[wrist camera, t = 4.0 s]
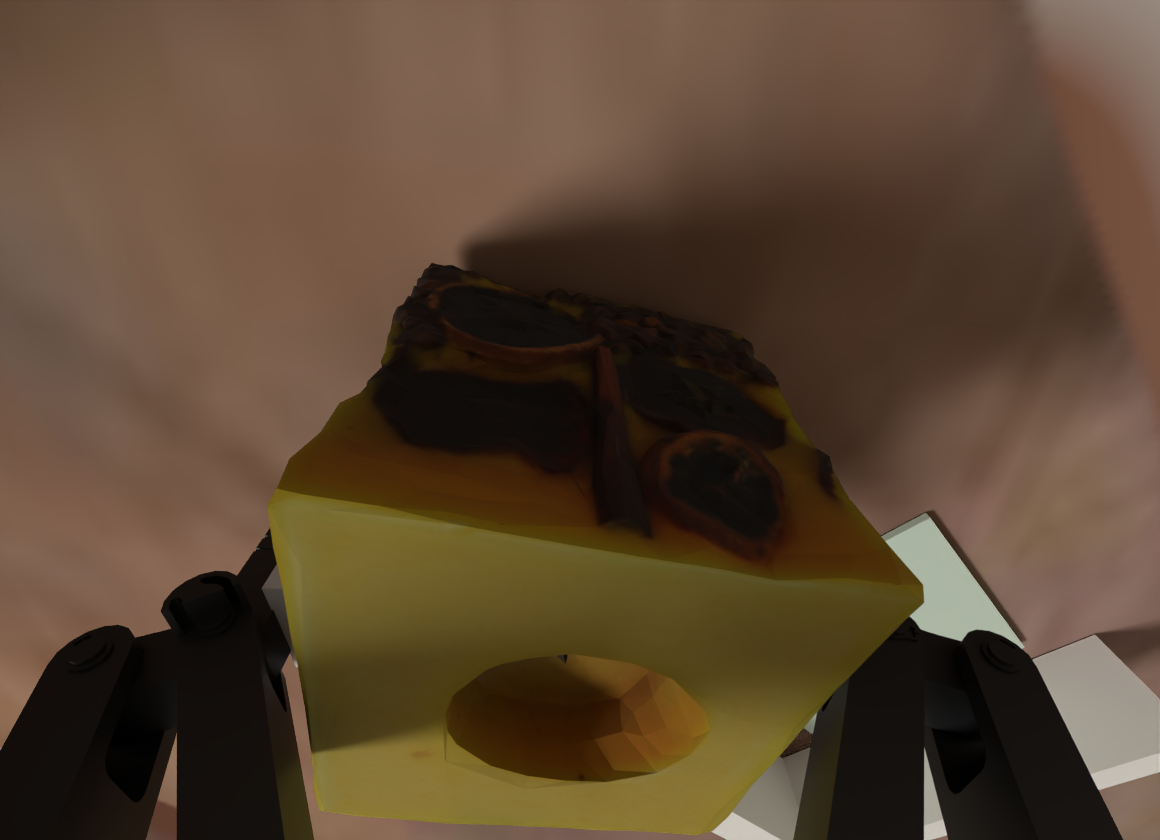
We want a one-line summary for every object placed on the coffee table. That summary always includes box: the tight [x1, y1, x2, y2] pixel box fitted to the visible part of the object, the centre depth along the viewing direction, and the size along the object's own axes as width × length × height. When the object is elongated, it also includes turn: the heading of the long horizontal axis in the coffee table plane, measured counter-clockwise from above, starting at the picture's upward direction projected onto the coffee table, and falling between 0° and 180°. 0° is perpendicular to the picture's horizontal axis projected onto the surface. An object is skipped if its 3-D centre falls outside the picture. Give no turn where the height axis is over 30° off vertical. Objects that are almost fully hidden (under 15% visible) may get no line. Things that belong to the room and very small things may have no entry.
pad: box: [804, 513, 1025, 734], centre depth 25 cm, size 12×12×1 cm
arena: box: [711, 635, 1160, 840], centre depth 24 cm, size 18×20×5 cm
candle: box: [267, 263, 924, 835], centre depth 14 cm, size 10×10×10 cm
